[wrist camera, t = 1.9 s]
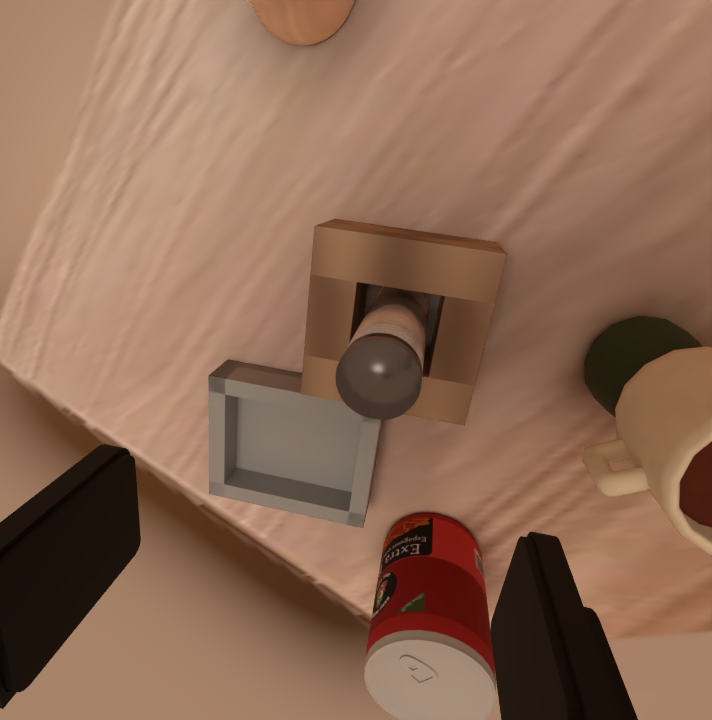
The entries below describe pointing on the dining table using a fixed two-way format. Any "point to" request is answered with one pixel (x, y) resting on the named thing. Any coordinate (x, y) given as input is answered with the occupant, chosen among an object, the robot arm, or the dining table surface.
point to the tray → (288, 445)
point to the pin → (386, 356)
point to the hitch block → (409, 272)
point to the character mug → (656, 420)
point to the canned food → (431, 625)
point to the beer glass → (302, 18)
